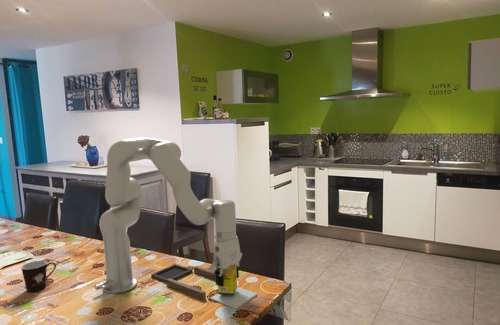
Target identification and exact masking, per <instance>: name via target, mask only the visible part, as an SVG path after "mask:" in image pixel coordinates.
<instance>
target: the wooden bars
mask: <svg viewBox="0 0 500 325" xmlns="http://www.w3.org/2000/svg"><path fill="white" fill-rule="evenodd" d="M193 273H194V274H197V275H199V276H203V277H205V278H209V279H211V280H215V281H216V275H214V273H213V272H212V271H211V269H207V268H204V267H201V266H198V265H195V266H194V267H193ZM166 286H167V287H170V288H172V289H174V290H176V291H179V292H182V293H184V294H187V295H189V296H192V297H194V298H197V299H199V300H203V301H204V300H205V299H206V297H207V296H206V291H204V290H202V289H200V288H197V287H195V286H192V285H189V284H186V283H183V282H181V281H178V280H173V279H170V278H169V279H167V283H166Z"/></svg>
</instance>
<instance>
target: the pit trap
mask: <svg viewBox="0 0 500 325" xmlns="http://www.w3.org/2000/svg"><path fill="white" fill-rule="evenodd" d="M192 273H193V269H192V268H189V267H187V266H183V265H180V264H177V263H175V264H174V263H173V264H172V265H170V266H167V267H165V268H163V269H160V270H158V271H156V272H153V273H151V278H153V279H156V280H158V281H161V282H163V283H165V284H167V279H169V278H170V279H173V280H176V281H178V280H179V279H181V278H184V277H185V276H187V275H190V274H192Z"/></svg>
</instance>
